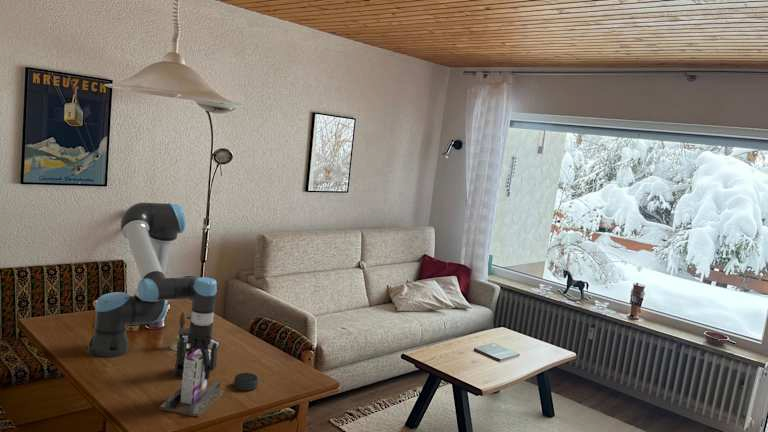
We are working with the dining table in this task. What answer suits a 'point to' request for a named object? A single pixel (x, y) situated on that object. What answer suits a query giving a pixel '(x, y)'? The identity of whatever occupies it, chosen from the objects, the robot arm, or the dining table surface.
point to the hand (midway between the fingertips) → (194, 385)
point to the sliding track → (197, 406)
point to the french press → (178, 367)
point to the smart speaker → (246, 381)
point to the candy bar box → (193, 377)
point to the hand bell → (182, 323)
